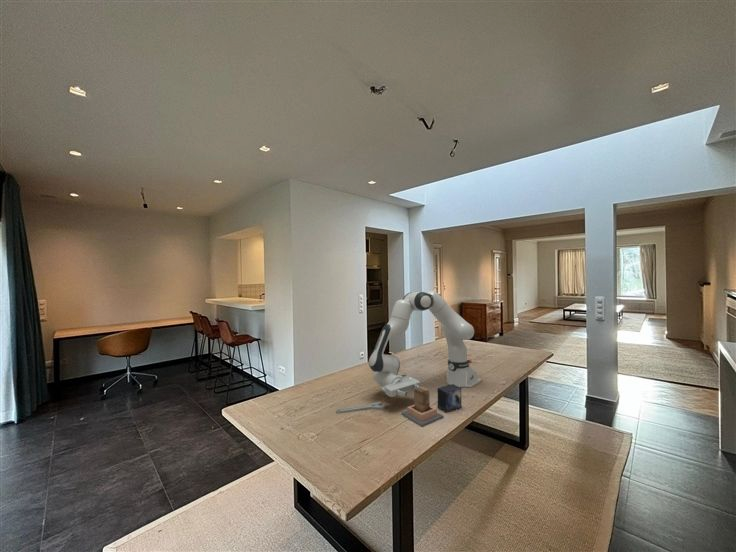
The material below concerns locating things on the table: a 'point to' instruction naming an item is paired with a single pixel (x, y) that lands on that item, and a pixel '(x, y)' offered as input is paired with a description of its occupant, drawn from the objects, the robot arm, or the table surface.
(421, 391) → the walnut block
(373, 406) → the adjustable wrench
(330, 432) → the table surface
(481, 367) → the table surface
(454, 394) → the small box
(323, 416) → the table surface
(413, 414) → the dock
